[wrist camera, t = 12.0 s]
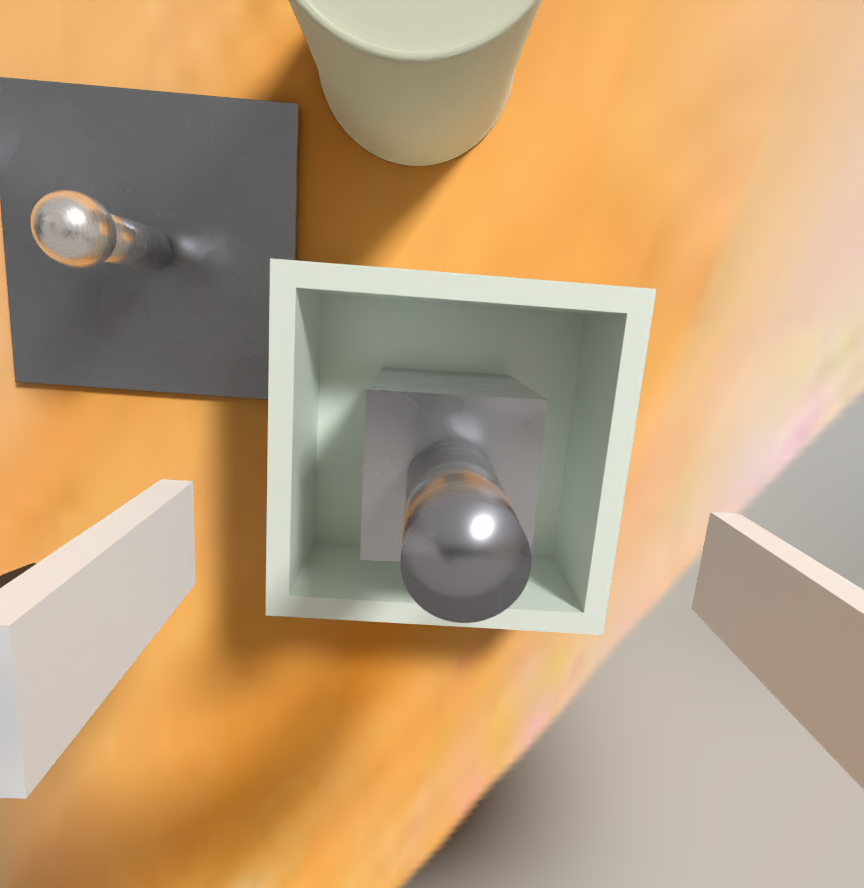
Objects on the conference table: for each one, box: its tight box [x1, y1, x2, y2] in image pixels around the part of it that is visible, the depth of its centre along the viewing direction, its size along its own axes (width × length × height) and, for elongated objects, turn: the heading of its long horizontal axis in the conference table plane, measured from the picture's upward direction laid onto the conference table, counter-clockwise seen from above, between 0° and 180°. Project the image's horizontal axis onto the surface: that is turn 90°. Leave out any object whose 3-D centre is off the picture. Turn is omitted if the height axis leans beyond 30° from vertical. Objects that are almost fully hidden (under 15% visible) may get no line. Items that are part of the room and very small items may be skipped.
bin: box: [266, 258, 656, 635], centre depth 27 cm, size 15×15×7 cm
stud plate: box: [0, 77, 300, 399], centre depth 24 cm, size 14×14×8 cm
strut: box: [360, 367, 548, 623], centre depth 22 cm, size 6×6×16 cm
